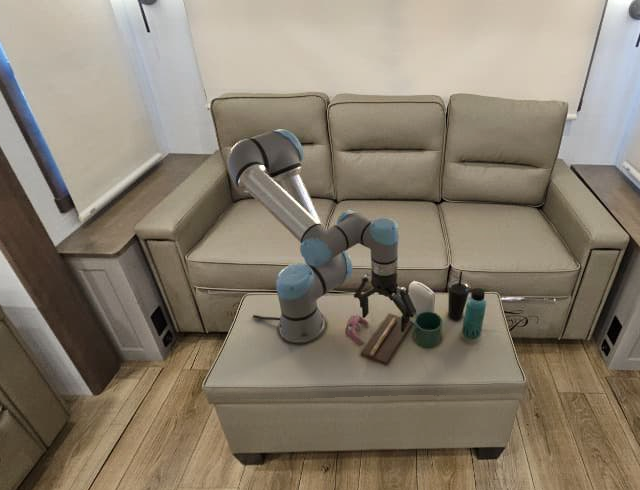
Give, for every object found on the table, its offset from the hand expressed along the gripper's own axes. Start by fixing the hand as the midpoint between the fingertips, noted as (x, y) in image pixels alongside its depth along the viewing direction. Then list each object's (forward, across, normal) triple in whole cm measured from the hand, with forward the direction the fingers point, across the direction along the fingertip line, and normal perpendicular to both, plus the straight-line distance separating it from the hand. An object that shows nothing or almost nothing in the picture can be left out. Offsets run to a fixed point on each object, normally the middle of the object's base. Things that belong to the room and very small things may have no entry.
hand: (384, 322), depth 134 cm
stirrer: (+8, -1, +1) cm, 8 cm away
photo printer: (+10, +5, +19) cm, 22 cm away
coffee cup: (+10, +12, +9) cm, 18 cm away
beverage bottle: (+10, +24, +16) cm, 31 cm away
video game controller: (+10, -10, 0) cm, 15 cm away
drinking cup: (+10, +16, +23) cm, 30 cm away
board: (+10, 0, +2) cm, 10 cm away
